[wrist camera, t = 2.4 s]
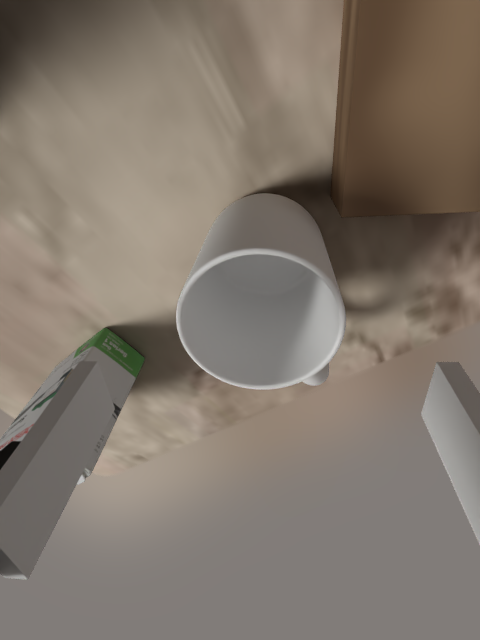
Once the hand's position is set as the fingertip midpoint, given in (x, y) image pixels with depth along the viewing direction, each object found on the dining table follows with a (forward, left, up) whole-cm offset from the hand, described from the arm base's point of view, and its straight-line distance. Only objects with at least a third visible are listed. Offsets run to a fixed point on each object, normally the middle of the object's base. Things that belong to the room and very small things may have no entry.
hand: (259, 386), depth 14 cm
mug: (+1, -1, -14) cm, 14 cm away
